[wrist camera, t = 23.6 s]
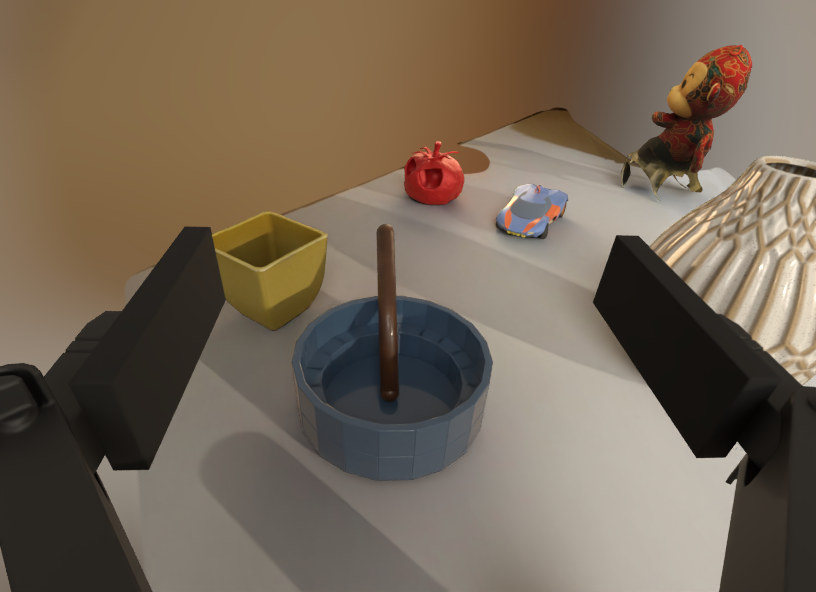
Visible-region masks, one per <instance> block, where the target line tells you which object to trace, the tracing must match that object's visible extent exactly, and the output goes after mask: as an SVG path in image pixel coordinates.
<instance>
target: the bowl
mask: <svg viewBox="0 0 816 592" xmlns="http://www.w3.org/2000/svg"><path fill="white" fill-rule="evenodd" d="M396 307H397V338H398V368H399V396H398V398H397V399H396V400H395V401H393V402H386V401H384V400H383V399H382V397H381V395H380V366H379V319H378V296H374V297H368V298H363V299H357V300H352V301H349V302H347V303H344V304H342V305H339V306H337V307H334V308H332V309H329V310H328V311H326V312H325V313H324V314H322V315H321V316H320V317H318V318H317V319H315V320H314V321H313V322H311V323H310V324H309V325H308V326H307V328H306V329H305V331H304V332H303V333H302V335H301V336H300V337H299V339H298V340H297V342H296V346H295V351H294V355H293V360H292V369H293V376H294V384H295V392H296V399H297V407H298V413H299V417H300V421H301V425H302V429H303V433H304V435H305V436H306V438H307V439H308V440H309V442H310V443H311V444H312V446H313V447H314V448H315V450H316V451H317V452H318V454H319V455H320V456H321V457H322V458H324V459H326V460H327V461H329V462H330V463H332V464H333V465H335V466H337V467H338V468H340V469H341V470H343V471H344V472H347V473H351V474H354V475H358V476H362V477H366V478H369V479H373V480H378V481H388V480H411V479H412V480H413V479H416V478H419V477H423V476H426V475H429V474H432V473H435V472H438V471H441V470H442V469H444V468H446V467H447V466H448V465H450V464H451V463H452V462H454V461H455V460H456V459H458V458H459V457H461V456H462V455H463V454H465V452H467V450H468V449H469V447H470V445H471V444H472V442H473V441H474V439H475V438H476V436H477V435H478V433H479V431H480V427H481V422H482V417H483V412H484V408H485V403H486V398H487V393H488V388H489V384H490V377H491V371H492V365H493V361H492V358H491V354H490V351H489V348H488V345H487V342H486V340H485V339H484V338H483V336H482V335H481V334H480V333H479V331H478V330H477V329H476V328H475V326H474V325H473V324H472V323H471V322H469V321H468V320H466V319H465V318H463V317H462V316H461V315H459V314H458V313H456V312H455V311H453V310H451V309H449V308H446V307H444V306H441V305H439V304H436V303H434V302H431V301H428V300H422V299H417V298H412V297H406V296H396Z"/></svg>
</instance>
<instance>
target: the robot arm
mask: <svg viewBox="0 0 816 592" xmlns="http://www.w3.org/2000/svg"><path fill="white" fill-rule="evenodd" d="M225 300H226V298H225V293H224V289H223V284H222V279H221V275H220V270H219V265H218V261H217V256H216V251H215V247H214V242H213V237H212V233H211V228H210V227H184V228H183V230H182V231H181V233H180V234H179V235H178V237H177V238H176V239H175V240H174V242H173V243H172V245H171V246H170V247H169V249H168V250H167V251H166V253H165V254H164V255H163V257H162V258H161V259H160V261H159V262H158V263H157V265H156V266H155V267H154V269H153V270H152V271H151V273H150V274H149V275H148V277H147V278H146V280H145V281H144V282H143V284H142V285H141V286H140V288H139V289H138V290H137V292H136V293H135V294H134V296H133V297H132V298H131V300H130V301H129V302H128V304H127V305H126V306H125V308H124V309H123V311H105V312H104V313H102V314H101V315H99V316H98V317H96V318H95V319H94V320H92V321H91V322H89V323H87V325H86V326H85V327H84V328H83V329H82V330H81V332H80V333H79V334H78V335H77V337H76V338H75V341H73V342H72V343H71V344H70V345H69V347H68V348H67V349H66V352H65V353H63V354H62V355H61V356H60V357H59V359H58V360H57V361H56V362H55V364H54V365H53V366H52V367H51V369H50V370H49V371H48V372H47V373H46V375H45V376H44V377H43V375H42V373H41V372H40V370H38V369H37V368H36V367H35V366H33V365H29V364H25V363H19V364H7V365H4V366H0V547H1V551H2V555H3V559H4V563H5V567H6V572H7V576H8V580H9V584H10V588H11V592H152V590H151V587H150V585H149V583H148V581H147V579H146V577H145V574H144V572H143V570H142V568H141V566H140V564H139V561H138V559H137V557H136V555H135V553H134V550H133V548H132V546H131V544H130V542H129V540H128V537H127V535H126V533H125V531H124V529H123V527H122V525H121V522H120V520H119V518H118V516H117V514H116V512H115V509H114V507H113V505H112V503H111V501H110V498H109V496H108V494H107V492H106V490H105V488H104V486H103V483H102V481H101V479H100V477H99V475H98V474H97V472H96V470H97V468H98V467H99V465H100V463H101V461H102V459H103V458H104V456H105V455H106V457H107V459H108V461H109V463H110V465H111V466H112V469H113V470H149V468H150V466H151V464H152V462H153V460H154V457H155V455H156V453H157V451H158V448H159V446H160V444H161V442H162V440H163V437H164V435H165V433H166V431H167V429H168V426H169V424H170V422H171V420H172V417H173V415H174V413H175V411H176V409H177V406H178V404H179V402H180V400H181V398H182V395H183V393H184V391H185V389H186V386H187V384H188V382H189V380H190V378H191V375H192V373H193V371H194V369H195V367H196V364H197V362H198V360H199V358H200V355H201V353H202V351H203V349H204V347H205V344H206V342H207V340H208V338H209V336H210V333H211V331H212V329H213V327H214V324H215V322H216V320H217V318H218V316H219V313H220V311H221V309H222V307H223V305H224V302H225ZM593 303H594V305H595V306H596V308H597V309H598V311H599V312H600V314H601V315H602V317H603V318H604V320H605V321H606V323H607V324H608V326H609V327H610V329H611V330H612V332H613V333H614V335H615V336H616V338H617V339H618V341H619V342H620V344H621V345H622V347H623V348H624V350H625V351H626V353H627V354H628V356H629V357H630V359H631V360H632V362H633V363H634V365H635V366H636V368H637V369H638V371H639V372H640V374H641V375H642V377H643V378H644V380H645V381H646V383H647V384H648V386H649V387H650V389H651V390H652V392H653V393H654V395H655V396H656V398H657V399H658V401H659V402H660V404H661V405H662V407H663V408H664V410H665V411H666V413H667V414H668V416H669V417H670V419H671V420H672V422H673V423H674V425H675V426H676V428H677V429H678V431H679V432H680V434H681V435H682V437H683V438H684V440H685V441H686V443H687V444H688V446H689V447H690V449H691V450H692V452H693V453H694V455H695V456H696V458H723V457H726V456H727V455H728V453H729V452H730V450H731V449H732V448H733V446H734V445H735V444H736V442H738V443H739V444H740V445H741V447H742V448H743V449H744V451H745V452H746V453H747V454H746V455H745V456H744V457H743V459H742V460H741V461H740V463H739V464H738V465H737V467H736V468H735V469H734V471H733V472H732V473H731V474H730V476H729V477H728V479H727V481H726V483H728V484H730V485H731V483H732V482H733V481H734V480H735V479H737V484H736V490H735V496H734V502H733V509H732V515H731V521H730V527H729V533H728V540H727V546H726V552H725V558H724V565H723V571H722V577H721V583H720V590H719V592H816V387H806V386H802V385H801V384H800V383H799V382H798V381H797V380H796V379H795V378H794V377H793V376H792V375H791V374H790V373H789V372H788V371H787V370H786V369H785V368H784V367H782V366H781V365H780V364H779V363H778V362H777V361H776V360H775V359H774V358H773V357H772V356H771V355H770V354H769V353H768V352H767V351H764V350H763V347H762V346H761V345H760V344H759V343H758V342H757V341H755V340H752V337H751V336H750V335H749V334H748V333H747V332H746V331H745V330H744V329H743V328H742V327H741V326H740V325H739V324H737V323H735V322H734V321H732V320H730V319H729V318H727V317H725V316H724V315H722V314H717V313H716V312H715V311H714V310H713V309H712V308H711V307H710V306H709V305H708V304H706V303H705V302H704V301H703V300H702V299H701V298H700V297H699V296H698V295H697V294H696V293H695V292H694V291H693V290H692V289H691V288H690V287H689V286H688V285H687V284H686V283H685V282H684V281H683V280H682V279H681V278H680V277H679V276H678V275H677V274H676V273H675V272H674V271H673V270H672V269H671V268H670V267H669V266H668V265H667V264H666V263H665V262H664V261H663V260H662V259H661V258H660V257H659V256H658V255H657V254H656V253H655V252H654V251H653V250H652V249H651V248H650V247H649V246H648V245H647V244H646V243H645V242H644V241H643V240H642V239H641V238H640V237H639V236H622V235H616V238H615V241H614V244H613V246H612V249H611V252H610V255H609V258H608V261H607V264H606V266H605V269H604V272H603V275H602V278H601V281H600V283H599V286H598V289H597V292H596V295H595V298H594V301H593Z"/></svg>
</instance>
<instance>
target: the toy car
mask: <svg viewBox="0 0 816 592" xmlns="http://www.w3.org/2000/svg"><path fill="white" fill-rule="evenodd" d="M566 201H568V196H567V194H566V193H564V192H562V191H560V190H551V189H546V188H543V187H542V186H541V185H539V186H536V185H534V184H523V185H521V186H519V187H517V189H516V191H515V193H514V195H513V197H512V200H511V201H510V203H509V204H508V205H507V206H506V207H505V208H504V209H502V210H501V211H500V212H499V214H498V215H497V218H496V220H497V221H496V227H497V228H501V229H503V230H504V231H506V230H507V231H506V232H507V233H509V234H510V233H511V232H512V234H513V235H515V234H516V235H517V236H520V234H521V237H525V236H526V237H537V236H538V238H540V239H544V238H546V236H547V233H548V225H549V224H551V223H552V222H554V221H555V220H556V219H557V218H558V217H562V216H563V214H564V211H565V208H566Z"/></svg>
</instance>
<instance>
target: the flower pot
mask: <svg viewBox="0 0 816 592" xmlns="http://www.w3.org/2000/svg"><path fill="white" fill-rule="evenodd" d="M212 237H213V242H214V247H215V251H216V256H217V261H218V265H219V270H220V275H221V279H222V284H223V289H224V293H225V298H226V300H227V301H228V302H229V303H230V304H231V305H232V306H233V307H235V308H236V309H237V310H238V311H239V312H240V313H242V314H243V315H245V316H247V317H249V318H250V319H252V320H254V321H256V322H258V323H259V324H261V325H263V326H265V327H266V328H268V329H270V330H277V329H278V328H280V327H281V326H283V325H284V324H286V323H287V322H289V321H290V320H291V319H293V318H294V317H296V316H297V315H299V314H300V313H302V312H303V311H305V310H306V309H308V307H309V306H310V305H311V303H312V302H313V300H314V299H315V297H316V295H317V294H318V292H319V290H320V287H321V285H322V282H323V278H324V272H325V261H326V248H327V234H326V233H324V232H322V231H320V230H317V229H315V228H312V227H309V226H307V225H304V224H301V223H299V222H296V221H294V220H291V219H289V218H286V217H284V216H281V215H279V214H276V213H273V212H269V211H266V212H263V213H260V214H258V215H256V216H254V217H252V218H249V219H247V220H245V221H243V222H241V223H238V224H236V225H234V226H232V227H229V228H227V229H224V230H221V231H219V232H217V233H214V234H212Z"/></svg>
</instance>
